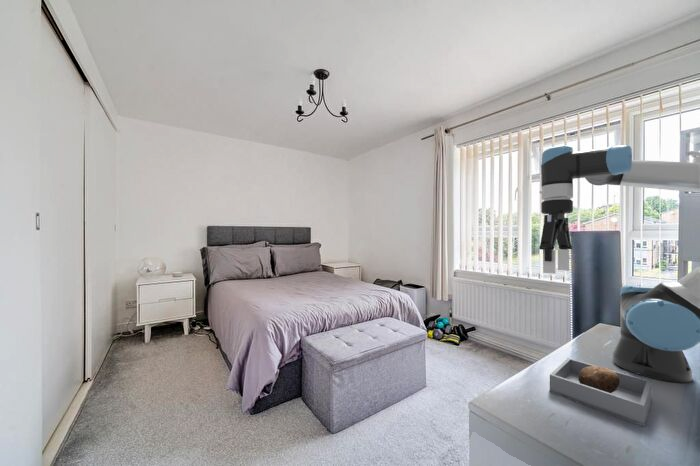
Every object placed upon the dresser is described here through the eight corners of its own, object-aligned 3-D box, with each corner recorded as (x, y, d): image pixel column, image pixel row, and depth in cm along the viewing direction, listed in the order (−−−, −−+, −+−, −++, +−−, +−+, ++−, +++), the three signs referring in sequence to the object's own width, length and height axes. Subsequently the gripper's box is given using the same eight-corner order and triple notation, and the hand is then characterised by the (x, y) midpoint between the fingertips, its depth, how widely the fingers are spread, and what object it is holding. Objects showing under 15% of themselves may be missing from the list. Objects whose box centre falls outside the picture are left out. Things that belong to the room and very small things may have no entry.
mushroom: (629, 379, 64) (610, 356, 65) (632, 407, 58) (612, 381, 59) (589, 382, 69) (573, 361, 70) (589, 408, 64) (571, 385, 65)
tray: (568, 372, 75) (568, 357, 75) (651, 398, 63) (651, 381, 63) (549, 391, 65) (549, 374, 65) (644, 426, 53) (644, 405, 53)
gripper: (554, 205, 93) (554, 268, 92) (526, 197, 77) (526, 273, 77) (583, 203, 87) (583, 270, 86) (559, 193, 71) (559, 276, 71)
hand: (556, 271), depth 82 cm, fingers open, 13 cm apart
